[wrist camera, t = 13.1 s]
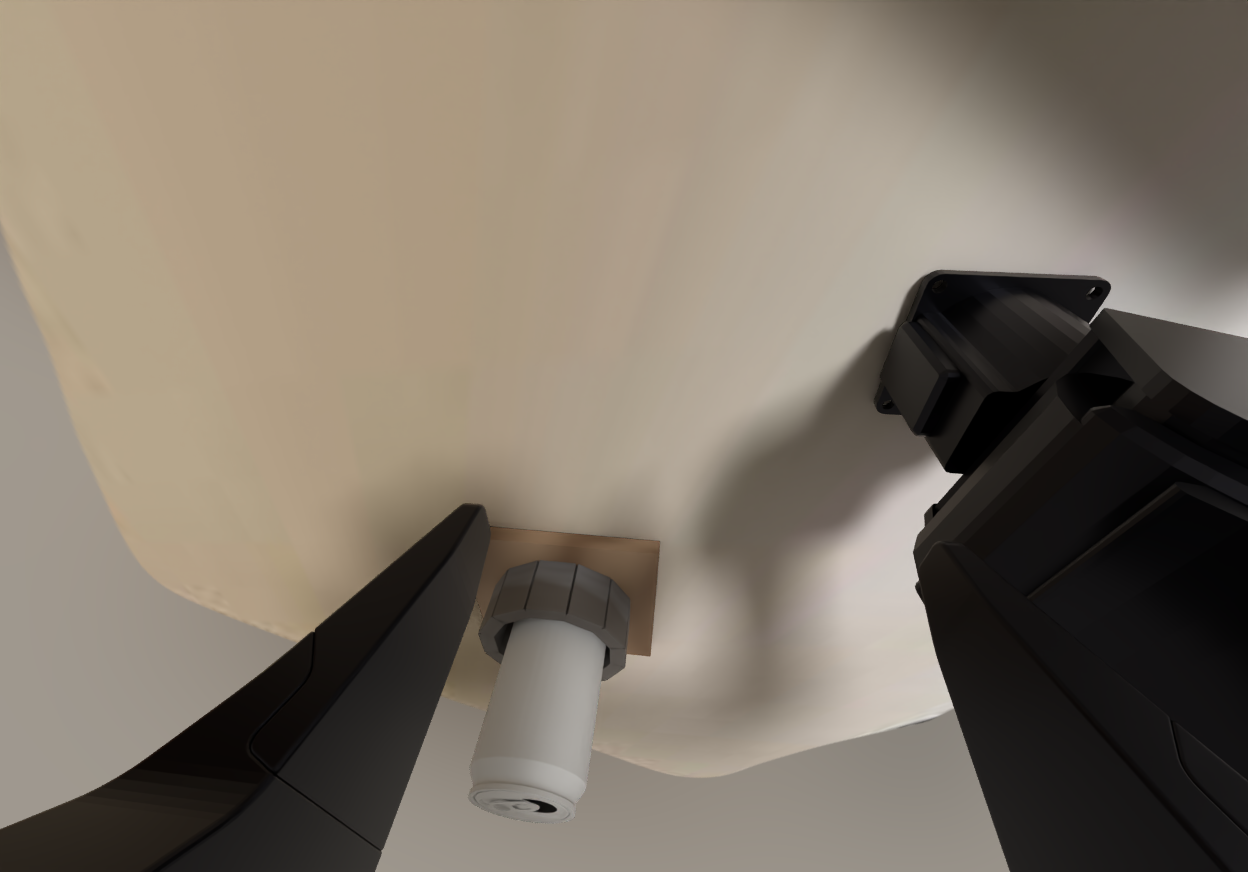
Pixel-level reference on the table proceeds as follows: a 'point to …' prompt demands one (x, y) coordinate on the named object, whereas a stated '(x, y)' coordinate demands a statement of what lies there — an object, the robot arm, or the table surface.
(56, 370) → the table surface
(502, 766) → the beverage can
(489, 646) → the can holder
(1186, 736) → the robot arm
